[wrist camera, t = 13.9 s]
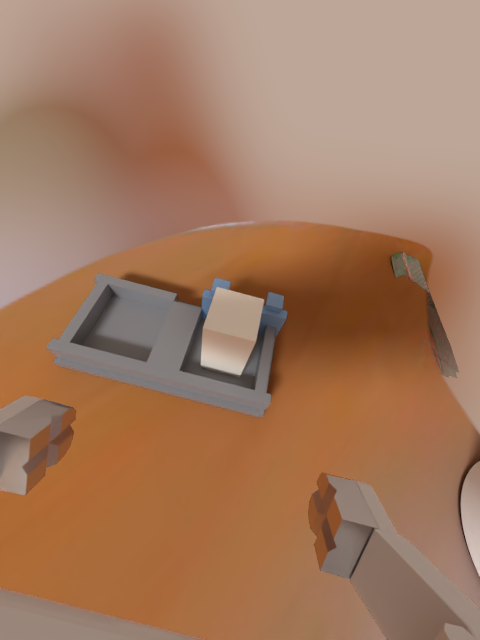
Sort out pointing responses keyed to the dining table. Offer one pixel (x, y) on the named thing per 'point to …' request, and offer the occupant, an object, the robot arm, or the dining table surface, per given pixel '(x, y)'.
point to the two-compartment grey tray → (164, 344)
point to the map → (437, 334)
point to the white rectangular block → (230, 331)
